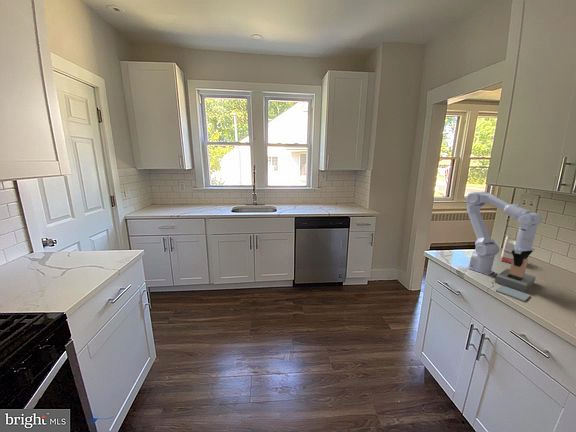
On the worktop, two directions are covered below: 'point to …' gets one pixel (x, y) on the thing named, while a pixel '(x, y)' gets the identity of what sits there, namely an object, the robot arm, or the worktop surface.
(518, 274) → the plug
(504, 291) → the mat
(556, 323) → the worktop surface
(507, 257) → the ink cartridge box
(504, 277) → the plate
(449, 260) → the worktop surface
